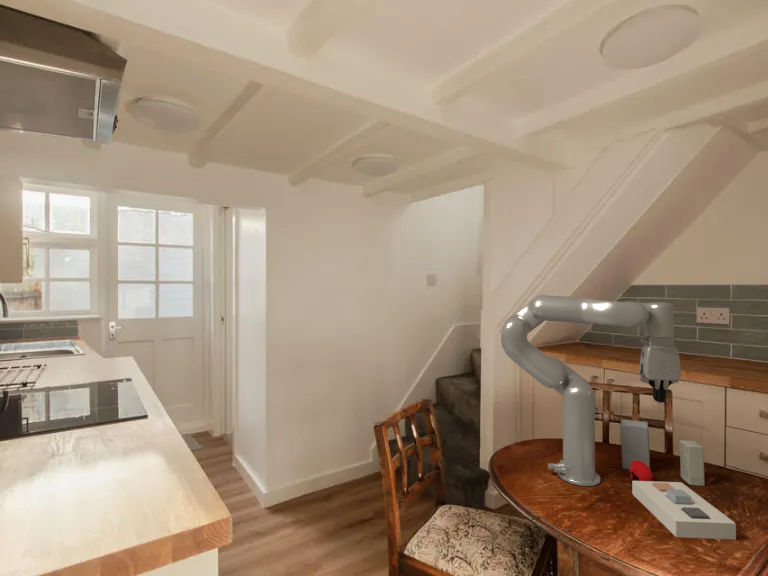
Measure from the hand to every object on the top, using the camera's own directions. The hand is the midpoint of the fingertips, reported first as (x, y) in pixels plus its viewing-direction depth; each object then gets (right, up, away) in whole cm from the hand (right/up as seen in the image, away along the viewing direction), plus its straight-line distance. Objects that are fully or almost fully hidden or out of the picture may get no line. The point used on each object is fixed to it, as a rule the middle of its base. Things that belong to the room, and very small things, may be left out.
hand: (659, 401), depth 131 cm
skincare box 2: (+14, -27, +5) cm, 31 cm away
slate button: (-4, -24, -15) cm, 29 cm away
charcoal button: (-5, -26, -22) cm, 34 cm away
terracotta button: (-4, -26, -8) cm, 27 cm away
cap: (-2, -27, +5) cm, 28 cm away
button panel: (-4, -27, -15) cm, 31 cm away
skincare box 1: (+1, -27, +15) cm, 31 cm away
